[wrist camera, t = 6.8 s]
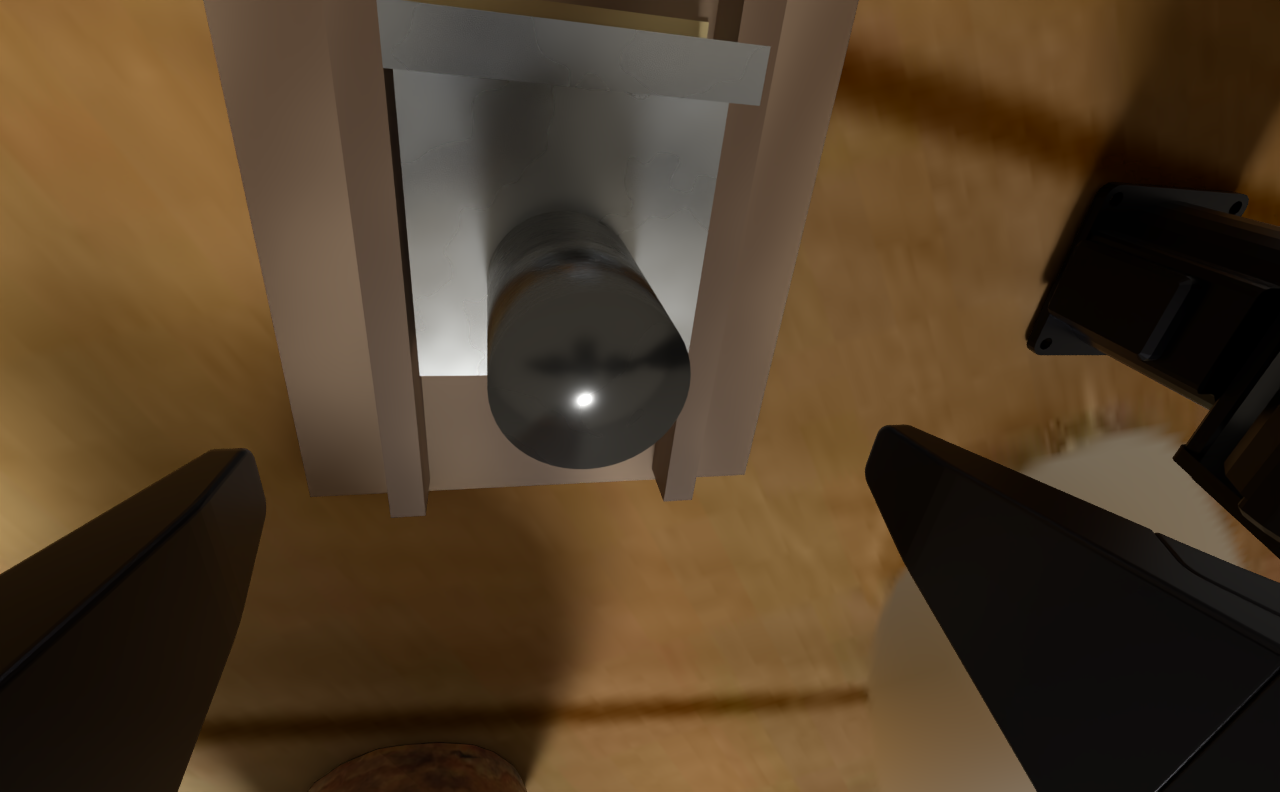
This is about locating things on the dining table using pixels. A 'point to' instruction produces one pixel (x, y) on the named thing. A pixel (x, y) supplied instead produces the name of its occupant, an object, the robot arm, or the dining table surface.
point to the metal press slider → (560, 213)
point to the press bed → (379, 255)
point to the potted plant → (424, 771)
